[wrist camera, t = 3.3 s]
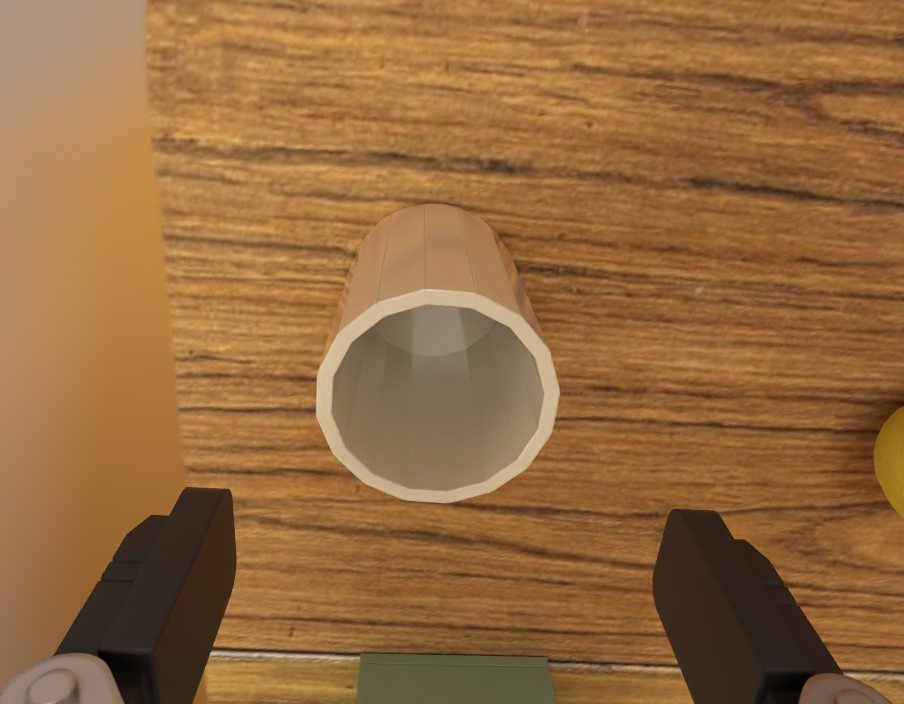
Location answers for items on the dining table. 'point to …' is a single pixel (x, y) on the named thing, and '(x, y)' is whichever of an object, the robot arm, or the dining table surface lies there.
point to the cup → (435, 361)
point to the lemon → (891, 460)
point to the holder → (453, 679)
